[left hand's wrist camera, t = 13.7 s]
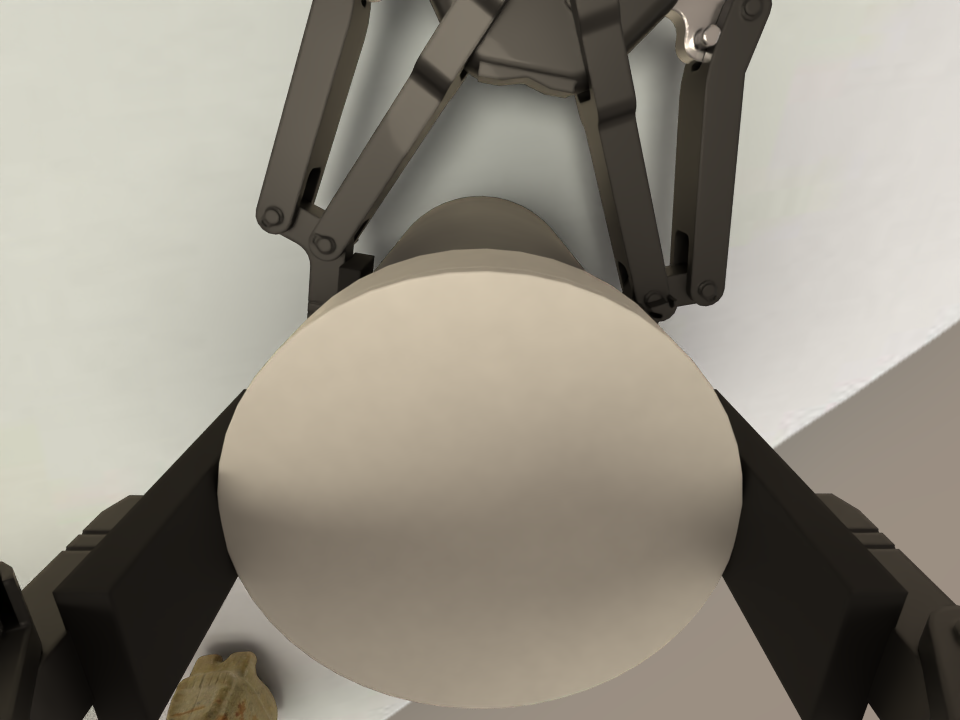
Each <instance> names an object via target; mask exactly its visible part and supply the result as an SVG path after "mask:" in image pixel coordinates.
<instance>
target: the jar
mask: <svg viewBox="0 0 960 720" xmlns="http://www.w3.org/2000/svg"><path fill="white" fill-rule="evenodd" d="M464 249H497V250H507V251H518V252H524V253H528V254H533V255H537V256H542V257H546V258H550V259H554V260H557V261H560V262H562V263H565V264H568V265H570V266H573V267H576V268H578V269H581V270H584V269H583V267H582V266H581V265H580V264H579V262H578V261H577V260H576V259H575V257H574V256H573V255H572V254H571V252H570V251H569V250H568V249H567V247H566V246H565V245H564V244H563V243H562V241H561V240H560V239H559V238H558V236H557V235H556V234H555V233H554V231H553V230H552V229H551V228H550V227H549V226H548V225H547V224H546V223H545V222H544V221H543V220H542V219H541V218H540V217H538V216H537V215H536V214H534V213H533V212H532V211H530V210H528V209H526V208H525V207H523V206H521V205H519V204H516V203H514V202H511V201H508V200H504V199H500V198H496V197H486V196H475V197H465V198H460V199H455V200H452V201H449V202H446V203H444V204H441V205H439V206H437V207H435V208H433V209H432V210H430V211H429V212H427V213H426V214H424V215H423V216H421V217H420V218H419V219H418V220H417V221H416V222H415V223H413V225H412V226H411V227H410V228H409V229H408V230H407V231H406V233H405V234H404V235H403V236H402V237H401V239H400V240H399V241H398V242H397V244H396V245H395V246H394V247H393V249H392V250H391V251H390V252H389V254H388V255H387V256H386V257H385V259H384V260H383V261H382V262H381V264H380V265H379V266H378V267H377V268H376V270H375V271H374V272H376V271H378V270H380V269H382V268H384V267H386V266H389V265H392V264H395V263H398V262H401V261H404V260H408V259H411V258H414V257H417V256H421V255H427V254H432V253H438V252H444V251H450V250H464ZM584 271H585V270H584Z"/></svg>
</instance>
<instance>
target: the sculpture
mask: <svg viewBox="0 0 960 720" xmlns="http://www.w3.org/2000/svg"><path fill="white" fill-rule="evenodd" d="M256 662H257V657H256V655H255V654H254V653H253V652H250V651H247V652H235V653H232V654H231V655H230V656H229V657H228V658H227V659H226V660H225V661H224V662H223V659H222V656H220V655H218V654H212V655H206V656H202V657H200V658H198V660H197V661H196V663H195V665H194V668H193V670H192V672H191V674H190V677H188V678H186V679H183V680H182V681H181V682H180V683H179V685H178V686H177V689H176V691H175V694H174V696H173V698H172V700H171V703H170V707H169V710H168V714H167V718H166V720H277V706H276V702H275V699H274V697H273V695H272V693H271V692H270V690H269V689H268V687H267V686H266V685H264V684H263V683H262V682H261V680H260V679H259V678H258V677H257V674H256V670H255V666H256Z"/></svg>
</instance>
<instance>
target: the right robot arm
mask: <svg viewBox="0 0 960 720" xmlns="http://www.w3.org/2000/svg"><path fill="white" fill-rule="evenodd" d="M380 1H382V0H313V2H312V6H311V9H310V13H309V17H308V20H307V24H306V28H305V31H304V35H303V39H302V42H301V46H300V50H299V53H298V57H297V61H296V65H295V68H294V72H293V76H292V79H291V83H290V87H289V90H288V94H287V98H286V101H285V105H284V109H283V112H282V116H281V120H280V123H279V127H278V131H277V134H276V138H275V142H274V145H273V149H272V153H271V157H270V160H269V164H268V168H267V171H266V175H265V179H264V182H263V186H262V190H261V193H260V197H259V201H258V204H257V208H256V219H257V222H258V224H259V225H260V226H261V228H262V229H263V230H265V231H266V232H268V233H271V234H280V235H282V236H284V237H286V238H288V239H290V240H292V241H293V242H295V243H297V244H298V245H300V246H301V247H302V248H303V249H304V250H305V251H306V253H307V254H308V256H309V260H310V280H309V297H308V301H309V302H308V314H307V319H308V318H309V317H310V316H311V315H312V314H313V313H314V312H315V311H317V310H318V309H319V308H320V307H321V306H322V305H323V304H325V303H326V302H327V301H328V300H329V299H330V298H331V297H333V296H334V295H336V294H337V293H339V292H340V291H342V290H343V289H345V288H346V287H348V286H349V285H351V284H352V283H354V282H356V281H357V280H359V279H361V278H363V277H365V276H367V275H369V274H371V273H373V265H374V256H373V255H367V254H361V253H354V254H353V248H354V244H355V243H356V242H357V241H358V238H359V236H360V235H361V233H362V232H363V230H364V229H365V227H366V226H367V224H368V223H369V221H370V220H371V218H372V217H373V215H374V214H375V212H376V211H377V209H378V208H379V206H380V205H381V203H382V202H383V200H384V198H385V197H386V195H387V194H388V192H389V191H390V189H391V188H392V186H393V185H394V183H395V182H396V180H397V179H398V177H399V176H400V174H401V173H402V171H403V170H404V168H405V167H406V165H407V164H408V162H409V161H410V159H411V158H412V156H413V155H414V153H415V152H416V150H417V149H418V147H419V146H420V144H421V143H422V141H423V140H424V138H425V137H426V135H427V134H428V132H429V131H430V129H431V128H432V126H433V124H434V123H435V121H436V120H437V118H438V117H439V115H440V114H441V112H442V111H443V109H444V108H445V106H446V105H447V104H448V102H449V101H450V100H451V99H452V97H453V96H454V95H455V93H456V92H457V90H458V89H459V87H460V86H461V84H462V83H463V81H464V80H465V78H466V77H467V75H468V74H470V75H472V76H473V77H475V78H477V79H478V82H482V83H487V84H493V85H498V86H502V85H512V84H525V85H527V86H529V87H531V88H533V89H535V90H537V91H539V92H541V93H543V94H546V95H551V96H556V97H562V98H566V97H568V96H572V95H575V99H576V103H577V107H578V112H579V116H580V119H581V122H582V124H583V126H584V129H585V132H586V136H587V140H588V145H589V149H590V153H591V158H592V162H593V166H594V171H595V175H596V179H597V184H598V188H599V192H600V197H601V201H602V205H603V210H604V214H605V219H606V223H607V227H608V232H609V236H610V240H611V245H612V249H613V253H614V258H615V262H616V266H617V271H618V275H619V279H620V284H621V288H622V290H623V291H622V293H623V294H624V295H625V296H627V297H628V298H629V299H631V300H632V301H634V302H635V303H636V304H638V305H639V306H640V307H641V308H642V309H643V310H644V311H645V312H646V313H647V314H648V315H649V316H650V317H651V318H652V319H653V320H654V321H655V322H656V323H657V324H658V322H659V321H665V320H667V319H669V318H670V317H671V316H672V315H673V314H674V313H675V311H676V308H677V307H678V306H684V305H690V304H696V303H697V304H698V305H700V306H709V305H713V304H714V303H716V302H717V301H719V299H720V298H721V297H722V295H723V292H724V289H725V278H726V268H727V257H728V247H729V236H730V226H731V215H732V205H733V194H734V184H735V173H736V163H737V152H738V142H739V131H740V121H741V110H742V100H743V89H744V79H745V72H746V70H747V67H748V65H749V63H750V60H751V58H752V55H753V53H754V51H755V48H756V46H757V43H758V41H759V38H760V36H761V34H762V31H763V29H764V26H765V24H766V22H767V19H768V17H769V14H770V11H771V7H772V0H430V2H431V4H432V7H433V9H434V11H435V13H436V15H437V18H438V20H439V22H440V24H439V26H438V27H437V29H436V30H435V32H434V34H433V35H432V37H431V38H430V40H429V42H428V43H427V45H426V46H425V48H424V50H423V51H422V53H421V54H420V56H419V58H418V59H417V61H416V63H415V66H414V68H413V71H412V73H411V75H410V77H409V78H408V80H407V81H406V83H405V85H404V86H403V88H402V89H401V91H400V93H399V94H398V96H397V97H396V99H395V101H394V102H393V104H392V105H391V107H390V108H389V110H388V112H387V113H386V115H385V116H384V118H383V120H382V121H381V123H380V124H379V126H378V128H377V129H376V131H375V132H374V134H373V135H372V137H371V139H370V140H369V142H368V143H367V145H366V147H365V148H364V150H363V151H362V153H361V155H360V156H359V158H358V159H357V161H356V162H355V164H354V166H353V167H352V169H351V170H350V172H349V174H348V175H347V177H346V178H345V180H344V182H343V183H342V185H341V186H340V188H339V189H338V191H337V193H336V194H335V196H334V197H333V199H332V201H331V202H330V204H329V205H328V207H327V209H326V210H323V209H321V208H320V207H318V206H316V205H314V202H315V199H316V196H317V193H318V189H319V186H320V183H321V180H322V176H323V173H324V170H325V167H326V163H327V160H328V157H329V154H330V150H331V147H332V144H333V141H334V137H335V134H336V131H337V128H338V124H339V121H340V118H341V115H342V111H343V108H344V105H345V102H346V98H347V95H348V92H349V89H350V85H351V82H352V79H353V76H354V72H355V69H356V66H357V63H358V59H359V56H360V53H361V50H362V46H363V43H364V40H365V36H366V32H367V28H368V24H369V17H370V10H371V2H380ZM664 17H667V18H669V19H670V20H671V21H672V22H673V24H674V26H675V28H676V34H677V35H676V43H675V50H676V54H677V56H678V58H679V59H680V60H681V61H682V62H684V63H686V65H685V69H684V73H683V77H682V82H681V88H680V97H679V113H678V130H677V148H676V165H675V183H674V200H673V217H672V235H671V252H670V266H666V267H665V265H664V260H663V255H662V249H661V244H660V239H659V234H658V229H657V224H656V219H655V214H654V209H653V204H652V199H651V194H650V189H649V184H648V179H647V174H646V168H645V163H644V158H643V153H642V148H641V143H640V138H639V133H638V128H637V123H636V117H635V112H636V96H635V91H634V86H633V80H632V75H631V70H630V65H629V60H628V55H627V54H628V53H629V52H630V51H631V50H632V49H633V48H634V47H635V46H636V45H637V44H638V43H639V42H640V41H641V40H642V39H643V38H644V37H645V36H646V35H647V34H648V33H649V32H650V31H651V30H652V29H653V28H654V27H655V26H656V25H657V24H658V23H659V22H660V21H661V20H662V19H663V18H664Z"/></svg>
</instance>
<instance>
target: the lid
mask: <svg viewBox="0 0 960 720" xmlns="http://www.w3.org/2000/svg"><path fill="white" fill-rule="evenodd" d="M217 496H218V506H219V512H220V517H221V523H222V527H223V532H224V537H225V541H226V546H227V550H228V553H229V555H230V558H231V560H232V562H233V565H234V567H235V569H236V572H237V574H238V576H239V578H240V580H241V581H242V583H243V585H244V586H245V588H246V590H247V591H248V593H249V595H250V596H251V598H252V600H253V601H254V602H255V603H256V605H257V606H258V607H259V608H260V610H261V611H262V612H263V613H264V615H265V616H266V617H267V619H268V620H269V621H270V622H271V623H272V624H273V625H274V626H275V627H276V628H277V629H278V630H279V631H280V632H281V633H282V634H283V635H284V636H285V637H286V638H287V639H288V640H289V641H290V642H292V643H293V644H294V645H295V646H297V647H298V648H299V649H301V650H302V651H303V652H304V653H306V654H307V655H308V656H310V657H311V658H312V659H314V660H315V661H317V662H319V663H320V664H322V665H324V666H325V667H327V668H328V669H330V670H332V671H333V672H335V673H337V674H339V675H341V676H343V677H345V678H347V679H349V680H351V681H353V682H355V683H358V684H360V685H362V686H364V687H367V688H370V689H373V690H375V691H378V692H381V693H384V694H387V695H389V696H393V697H397V698H401V699H405V700H409V701H413V702H417V703H424V704H429V705H436V706H442V707H453V708H468V709H489V708H508V707H517V706H525V705H533V704H537V703H542V702H546V701H551V700H556V699H560V698H563V697H567V696H570V695H573V694H576V693H579V692H582V691H586V690H588V689H591V688H593V687H595V686H598V685H600V684H602V683H605V682H607V681H609V680H612V679H614V678H616V677H617V676H619V675H621V674H623V673H625V672H626V671H628V670H630V669H632V668H634V667H635V666H637V665H639V664H640V663H642V662H643V661H645V660H646V659H647V658H649V657H650V656H652V655H653V654H654V653H656V652H657V651H659V650H660V649H661V648H663V647H664V646H665V645H666V644H667V643H668V642H669V641H671V640H672V639H673V638H674V637H675V636H676V635H677V634H678V633H679V632H681V631H682V630H683V629H684V628H685V626H686V625H687V624H688V623H689V622H690V621H691V620H692V618H693V617H694V616H695V615H696V614H697V613H698V612H699V610H700V609H701V608H702V607H703V605H704V604H705V602H706V601H707V599H708V598H709V596H710V595H711V593H712V592H713V590H714V589H715V587H716V586H717V584H718V582H719V580H720V578H721V576H722V574H723V572H724V570H725V568H726V566H727V564H728V562H729V559H730V556H731V553H732V550H733V547H734V543H735V538H736V534H737V529H738V524H739V519H740V514H741V509H742V469H741V463H740V457H739V451H738V445H737V442H736V439H735V436H734V433H733V430H732V427H731V424H730V421H729V418H728V415H727V414H726V412H725V410H724V408H723V406H722V404H721V402H720V400H719V398H718V396H717V394H716V393H715V391H714V389H713V387H712V386H711V384H710V383H709V382H708V380H707V379H706V378H705V376H704V375H703V374H702V372H701V371H700V370H699V368H698V367H697V366H696V364H695V363H694V362H693V360H692V359H691V358H690V357H689V356H688V355H687V354H686V353H685V352H684V351H683V350H682V349H681V348H680V347H679V346H678V345H677V344H676V343H675V342H674V341H673V340H672V339H671V338H670V337H669V335H668V334H667V333H666V332H665V331H664V330H663V329H662V328H661V327H660V326H659V325H658V324H657V323H656V322H655V321H654V320H653V319H652V318H651V317H650V316H649V315H648V314H647V313H646V312H645V311H644V310H643V309H642V308H641V307H640V306H639V305H638V304H636V303H635V302H634V301H632V300H631V299H629V298H628V297H627V296H625V295H624V294H623V293H621V292H620V291H619V290H617V289H616V288H615V287H613V286H612V285H610V284H608V283H606V282H604V281H602V280H600V279H599V278H597V277H595V276H593V275H591V274H589V273H587V272H586V271H584V270H581V269H578V268H576V267H573V266H570V265H568V264H565V263H562V262H560V261H557V260H554V259H550V258H546V257H542V256H537V255H533V254H528V253H524V252H518V251H507V250H497V249H464V250H450V251H444V252H438V253H432V254H427V255H421V256H417V257H414V258H411V259H408V260H404V261H401V262H398V263H395V264H392V265H389V266H386V267H384V268H382V269H380V270H378V271H376V272H373V273H371V274H369V275H367V276H365V277H363V278H361V279H359V280H357V281H356V282H354V283H352V284H351V285H349V286H348V287H346V288H345V289H343V290H342V291H340V292H339V293H337V294H336V295H334V296H333V297H331V298H330V299H329V300H328V301H327V302H326V303H325V304H323V305H322V306H321V307H320V308H319V309H318V310H317V311H315V312H314V313H313V314H312V315H311V316H310V317H309V318H308V319H307V320H306V321H305V322H304V323H303V324H302V325H301V326H300V327H299V328H298V329H297V330H296V331H295V332H294V333H293V334H292V335H291V336H290V337H289V338H288V339H287V341H286V342H285V343H284V344H283V345H282V346H281V347H280V348H279V349H278V350H277V351H276V352H275V353H274V354H273V356H272V357H271V358H270V359H269V360H268V362H267V363H266V364H265V365H264V366H263V367H262V369H261V370H260V371H259V372H258V373H257V375H256V376H255V377H254V379H253V380H252V382H251V384H250V385H249V387H248V389H247V390H246V392H245V393H244V395H243V397H242V398H241V400H240V402H239V403H238V405H237V408H236V410H235V413H234V415H233V417H232V420H231V422H230V425H229V427H228V430H227V432H226V435H225V440H224V444H223V449H222V453H221V457H220V462H219V474H218V490H217Z"/></svg>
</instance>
